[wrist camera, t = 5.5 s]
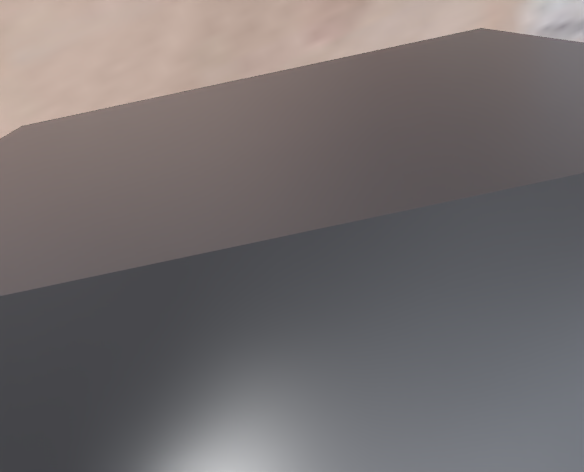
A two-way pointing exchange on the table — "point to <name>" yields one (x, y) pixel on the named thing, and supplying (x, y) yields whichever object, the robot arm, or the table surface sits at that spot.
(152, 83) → the table surface
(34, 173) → the slate gray cube
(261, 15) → the table surface
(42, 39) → the table surface
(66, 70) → the table surface
